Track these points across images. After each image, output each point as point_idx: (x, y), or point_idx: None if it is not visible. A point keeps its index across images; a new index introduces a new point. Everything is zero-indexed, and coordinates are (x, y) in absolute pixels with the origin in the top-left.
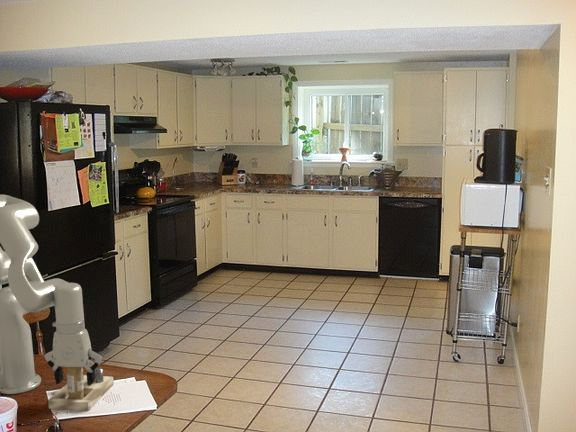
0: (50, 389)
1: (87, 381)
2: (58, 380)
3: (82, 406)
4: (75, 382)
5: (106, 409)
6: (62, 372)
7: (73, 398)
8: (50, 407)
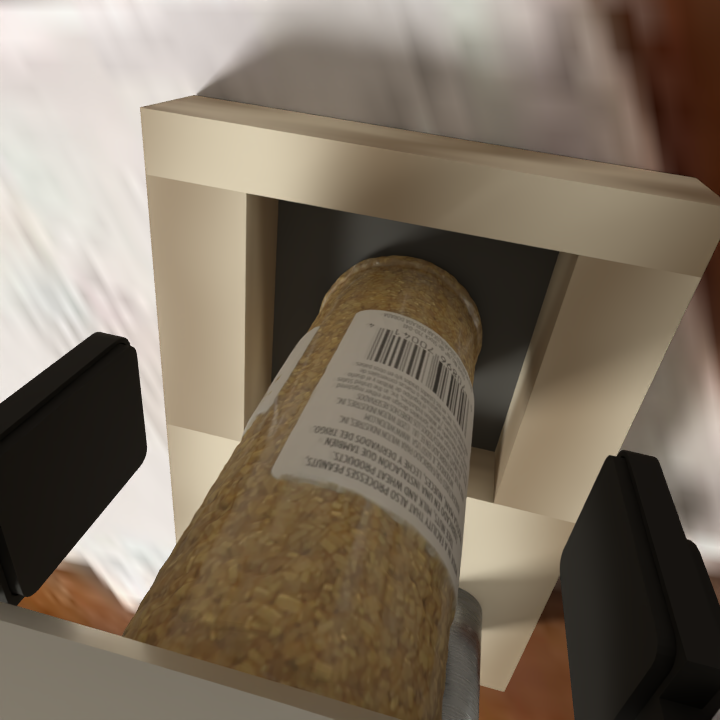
0: None
1: (88, 370)
2: (616, 494)
3: (239, 112)
4: (295, 394)
5: (36, 124)
6: (575, 663)
7: (394, 280)
8: (674, 179)
